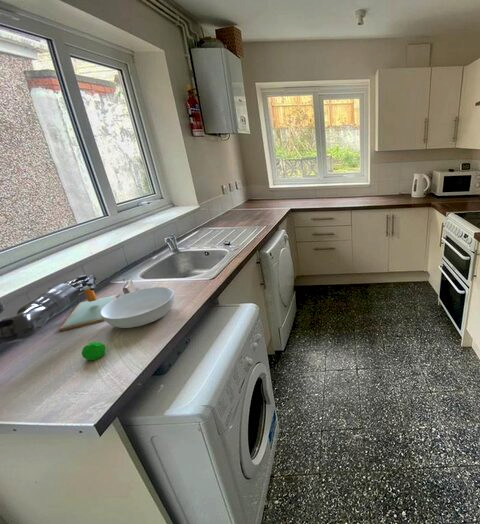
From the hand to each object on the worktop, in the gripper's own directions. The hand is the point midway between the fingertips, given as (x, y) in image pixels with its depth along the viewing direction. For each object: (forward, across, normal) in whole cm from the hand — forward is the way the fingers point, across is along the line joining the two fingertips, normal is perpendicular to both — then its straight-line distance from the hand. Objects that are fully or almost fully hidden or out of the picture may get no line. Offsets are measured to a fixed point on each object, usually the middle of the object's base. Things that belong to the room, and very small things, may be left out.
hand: (88, 277), depth 107 cm
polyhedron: (-37, -18, +11) cm, 43 cm away
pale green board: (-7, -1, +11) cm, 13 cm away
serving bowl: (-17, -23, +11) cm, 31 cm away
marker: (-3, 0, +8) cm, 9 cm away
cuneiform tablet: (+5, -9, +11) cm, 15 cm away
